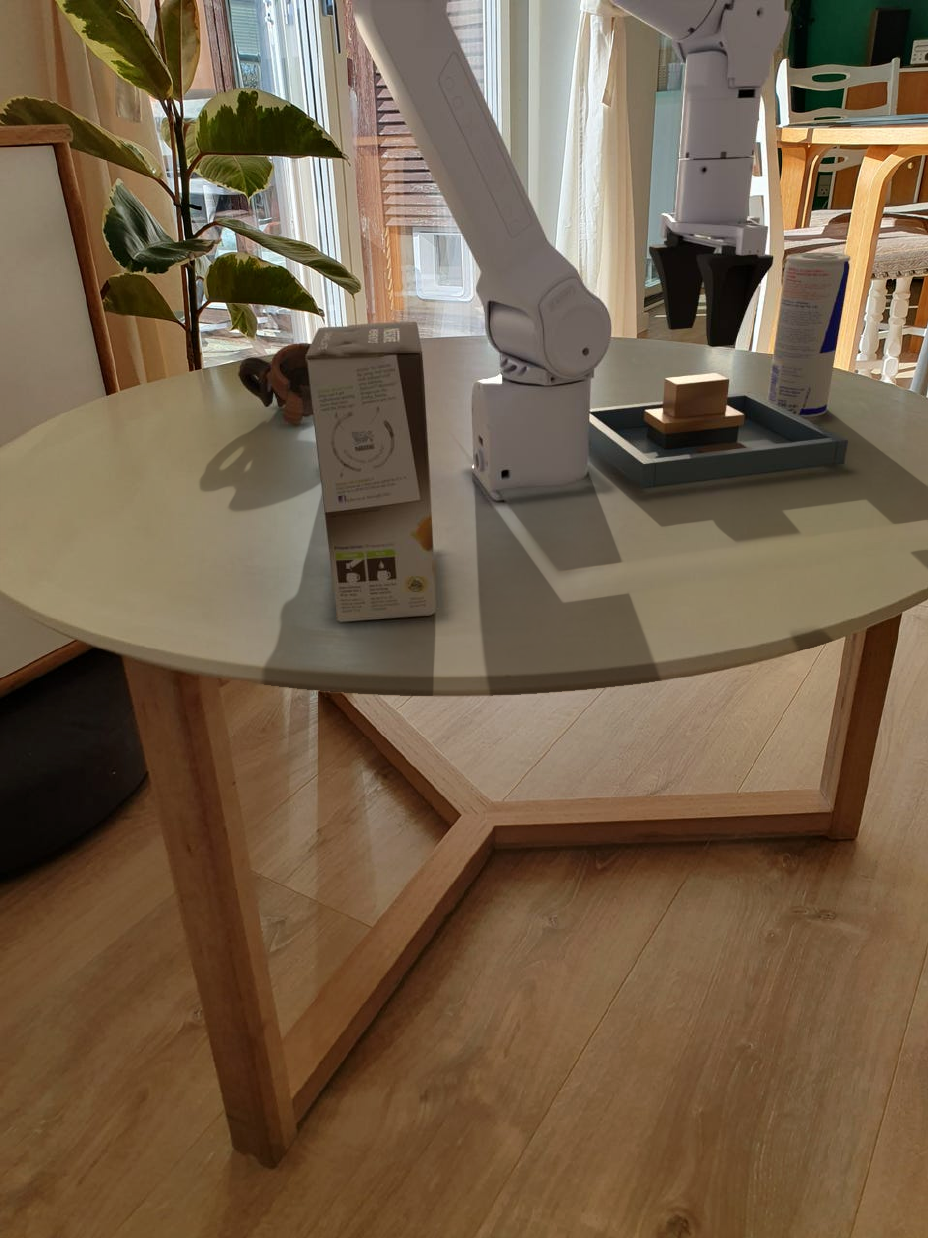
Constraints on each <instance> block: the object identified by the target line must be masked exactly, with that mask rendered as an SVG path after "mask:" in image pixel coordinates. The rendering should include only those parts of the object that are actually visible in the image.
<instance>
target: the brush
mask: <svg viewBox="0 0 928 1238" xmlns="http://www.w3.org/2000/svg"><path fill="white" fill-rule="evenodd" d="M663 385H664V387H663V399H662V401H663V408H660V409H650V410H645V411H644V421H645V422H647V423H648V428H647V437H648V438H649V439H651V440H652V441H654V442H655V443H656V444H658V445H659V446H661V447H662V448H663V449H665V450H667V449H676V448H685V447H693V446H702V445H710V444H719V443H728V442H736V441H737V439H738V430H739V426H742V425H744V416H745V414H743V413H741V412H739V411H737V410H735V409H733V408H731V407H730V406H728V405H727V398H728V394H729V388H730V378H727V377H726V376H723V375H721V374H719V373H717V372H713V373H712V372H711V373H703V374H693V375H692V374H691V375H682V376H672V377H665V378H664V384H663Z"/></svg>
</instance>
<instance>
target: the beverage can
mask: <svg viewBox="0 0 928 1238" xmlns="http://www.w3.org/2000/svg"><path fill="white" fill-rule="evenodd" d="M850 261H851V256H850V255H848V254H846V253H845V254H844V253H835V252H800V253H799V252H798V253H792V254H791V253H790V254H788V255H786V263H785V266H784V270H783V276H782V277H783V278H782V285H781V293H780V299H779V309H778V315H777V322H776V332H775V338H774V339H775V340H774V346H773V355H772V361H771V362H772V363H771V369H770V376H769V385H768V392H767V399H766V400H767V401H769V402H771V403H773V404H775V405H777V406H779V407H781V408H783V409H786V410H788V411H790V412H792V413H794V414H796V415H798V416H800V417H802V418H811V417H818V416H821V415H823V414H825V413H826V412H827V409H828V401H829V395H830V389H831V384H832V377H833V371H834V365H835V360H836V353H837V347H838V341H839V335H840V329H841V323H842V317H843V310H844V304H845V298H846V292H847V286H848V279H849V274H850V263H849V262H850Z"/></svg>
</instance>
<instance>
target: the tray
mask: <svg viewBox="0 0 928 1238" xmlns="http://www.w3.org/2000/svg"><path fill="white" fill-rule="evenodd" d="M727 405H728V406H730V407H731V408H733V409H735V410H737V411H739V412H741V413H743V414H745V416H744V425H742V426H739V430H738V439H737V441H736V442H728V443H719V444H710V445H702V446H693V447H685V448H676V449H667V450H665V449H663V448H662V447H661V446H659V445H658V444H656V443H655V442H654V441H652V440H651V439H649V438H648V437H647V428H648V423H647V422H645V421H644V411H645V410H650V409H660V408H663V400H662V401H653V402H642V403H634V404H624V405H623V404H622V405H614V406H606V407H605V406H604V407H597V408H595V407H594V408H590V419H589V446H590V447H592V448H593V449H594V450H595V451H597V452H598V453H599V454H600V455H601V456H603V458H605V459H606V460H607V461H609V462H610V463H611V464H612V465H613V466H615V468H616V469H618V470H619V471H620V472H621V473H623V474H624V475H625V476H626V477H628V478H629V479H630V480H631V481H632V482H633V483H634V484H636V485H637V486H638V487H639V488H640V489H642V490H643V489H652V488H660V487H669V486H675V485H677V486H678V485H684V484H691V483H692V484H693V483H699V482H709V481H715V480H723V479H725V480H726V479H732V478H733V479H734V478H740V477H748V476H757V475H764V474H773V473H780V472H781V473H782V472H789V471H797V470H805V469H813V468H820V467H828V466H836V465H844V464H845V461H846V455H847V450H848V445H849V439H848V438H845V437H844V436H842V435H839V434H837V433H835V432H833V431H831V430H830V429H827V428H824V427H822V426H820V425H818V424H817V423H815V422H812V421H810V420H808V419H806V418H805V417H800V416H798V415H796V414H794V413H792V412H790V411H788V410H786V409H783V408H781V407H779V406H777V405H775V404H773V403H771V402H769V401H767V399H765V398H763V397H761V396H759V395H756V394H754V393H753V392H751V391H749V392H737V393H730V394H729V393H728V398H727ZM734 443H741V444H743V445H744V446H746V447H748V448H741V449H732V450H724V451H715V452H707V453H698V454H697V449H698V448H700V447H708V446H717V445H726V444H734Z"/></svg>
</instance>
